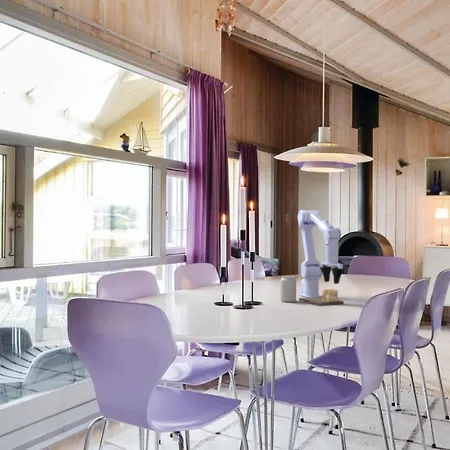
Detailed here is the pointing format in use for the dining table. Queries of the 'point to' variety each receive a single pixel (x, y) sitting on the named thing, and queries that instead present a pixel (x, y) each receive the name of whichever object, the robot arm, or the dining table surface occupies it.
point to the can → (288, 289)
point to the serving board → (319, 301)
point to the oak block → (329, 295)
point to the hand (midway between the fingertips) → (331, 282)
